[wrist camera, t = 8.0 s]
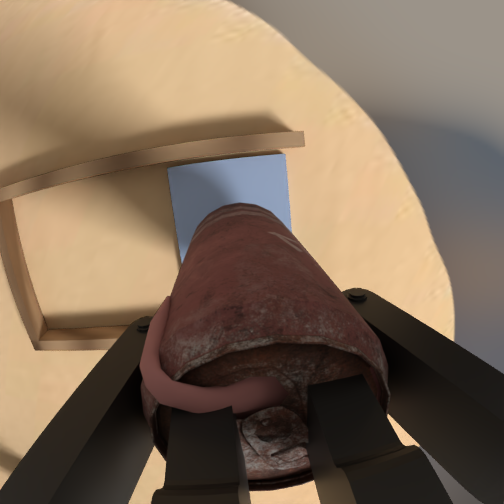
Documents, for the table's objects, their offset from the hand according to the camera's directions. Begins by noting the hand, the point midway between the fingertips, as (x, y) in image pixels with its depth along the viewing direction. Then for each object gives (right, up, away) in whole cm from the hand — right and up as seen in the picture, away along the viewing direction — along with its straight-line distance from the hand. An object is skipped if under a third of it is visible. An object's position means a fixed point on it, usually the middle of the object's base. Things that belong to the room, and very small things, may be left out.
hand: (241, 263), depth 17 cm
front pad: (-1, +2, +5) cm, 6 cm away
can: (0, +1, +2) cm, 3 cm away
